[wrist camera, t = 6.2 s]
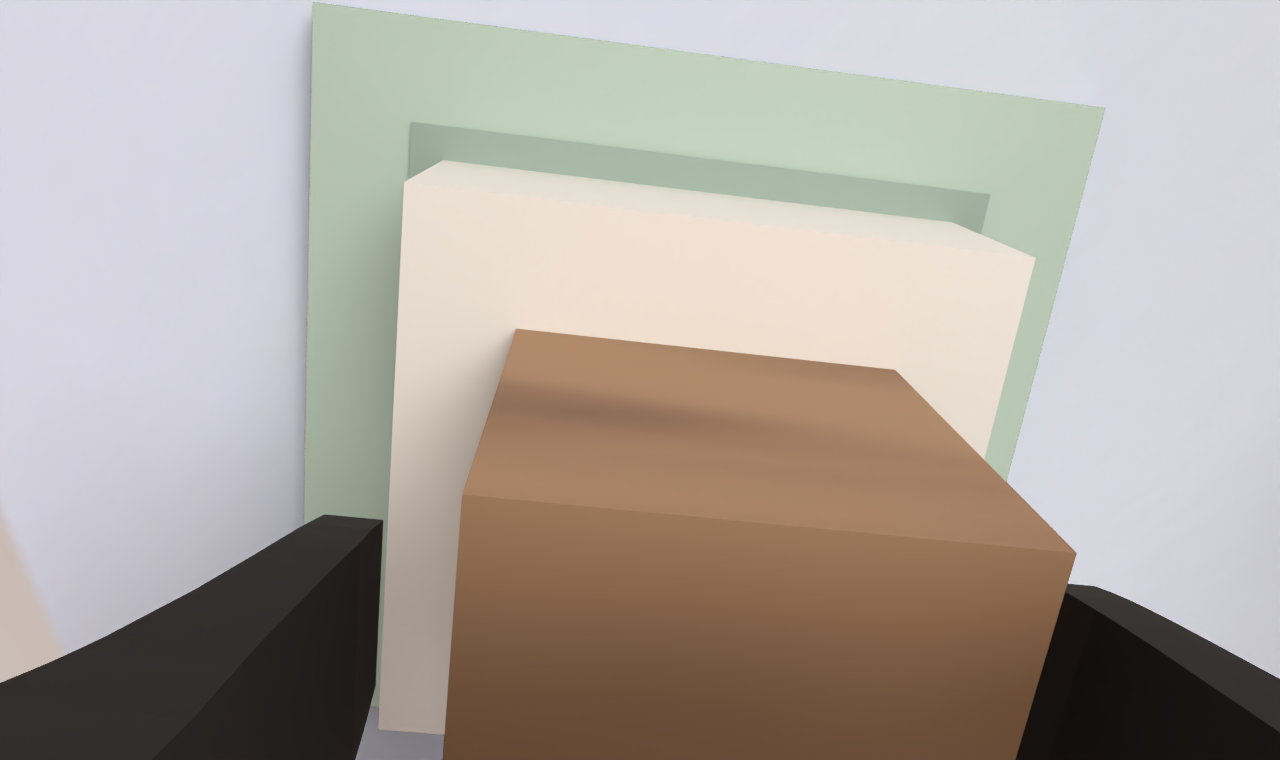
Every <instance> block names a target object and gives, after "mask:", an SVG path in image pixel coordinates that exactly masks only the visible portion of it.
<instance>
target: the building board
mask: <svg viewBox="0 0 1280 760" xmlns="http://www.w3.org/2000/svg"><path fill="white" fill-rule="evenodd" d="M1104 112H1105V108H1103V107H1095V106H1088V105H1080V104H1073V103H1065V102H1058V101H1050V100H1043V99H1035V98H1028V97H1020V96H1013V95H1005V94H998V93H990V92H983V91H975V90H968V89H960V88H953V87H945V86H938V85H931V84H923V83H916V82H908V81H901V80H893V79H886V78H878V77H871V76H863V75H856V74H848V73H841V72H833V71H826V70H818V69H811V68H803V67H796V66H788V65H781V64H773V63H766V62H758V61H751V60H744V59H736V58H729V57H721V56H714V55H706V54H699V53H691V52H684V51H676V50H669V49H661V48H654V47H646V46H639V45H631V44H624V43H616V42H609V41H601V40H594V39H586V38H579V37H571V36H564V35H556V34H549V33H542V32H534V31H527V30H519V29H512V28H504V27H497V26H489V25H482V24H474V23H467V22H459V21H452V20H444V19H437V18H429V17H422V16H414V15H407V14H399V13H392V12H384V11H377V10H369V9H362V8H355V7H347V6H340V5H332V4H325V3H317V2H313V22H312V79H311V137H310V194H309V251H308V308H307V365H306V423H305V480H304V525H305V524H307V523H309V522H310V521H312V520H314V519H316V518H318V517H320V516H322V515H324V514H326V515H337V516H347V517H358V518H369V519H379V520H383V538H382V560H381V582H380V603H379V625H378V646H377V668H376V687H375V690H374V694H373V698H372V701H371V705H370V707H379V699H380V678H381V657H382V636H383V615H384V594H385V573H386V552H387V531H388V510H389V489H390V468H391V447H392V426H393V405H394V384H395V363H396V342H397V321H398V300H399V279H400V258H401V237H402V216H403V195H404V182H405V181H407V180H408V179H410V178H412V177H414V176H416V175H417V174H419V173H421V172H423V171H425V170H426V169H428V168H430V167H432V166H434V165H435V164H437V163H439V162H441V161H442V160H447V161H455V162H463V163H471V164H479V165H488V166H496V167H504V168H512V169H520V170H528V171H537V172H545V173H553V174H561V175H569V176H577V177H586V178H594V179H602V180H610V181H618V182H626V183H635V184H643V185H651V186H659V187H667V188H675V189H684V190H692V191H700V192H708V193H716V194H724V195H733V196H741V197H749V198H757V199H765V200H773V201H782V202H790V203H798V204H806V205H814V206H822V207H831V208H839V209H847V210H855V211H863V212H871V213H880V214H888V215H896V216H904V217H912V218H920V219H929V220H937V221H945V222H953V223H955V224H957V225H960V226H962V227H964V228H967V229H969V230H971V231H974V232H976V233H979V234H981V235H983V236H986V237H988V238H990V239H993V240H995V241H997V242H1000V243H1002V244H1004V245H1007V246H1009V247H1011V248H1014V249H1016V250H1018V251H1021V252H1023V253H1025V254H1028V255H1030V256H1032V257H1035V258H1036V259H1035V263H1034V267H1033V270H1032V274H1031V278H1030V282H1029V286H1028V290H1027V294H1026V298H1025V302H1024V306H1023V310H1022V314H1021V318H1020V321H1019V325H1018V329H1017V333H1016V337H1015V341H1014V345H1013V349H1012V353H1011V357H1010V361H1009V365H1008V368H1007V372H1006V376H1005V380H1004V384H1003V388H1002V392H1001V396H1000V400H999V404H998V408H997V412H996V415H995V419H994V423H993V427H992V431H991V435H990V439H989V443H988V447H987V451H986V455H985V459H984V460H985V461H986V462H987V463H988V464H989V465H990V466H991V467H992V468H993V469H994V470H995V471H996V472H997V473H998V474H999V475H1000V476H1001V477H1002V478H1003V479H1004V480H1005V481H1007V478H1008V474H1009V470H1010V466H1011V463H1012V459H1013V455H1014V451H1015V448H1016V444H1017V440H1018V436H1019V432H1020V429H1021V425H1022V421H1023V417H1024V414H1025V410H1026V406H1027V402H1028V398H1029V395H1030V391H1031V387H1032V383H1033V380H1034V376H1035V372H1036V368H1037V365H1038V361H1039V357H1040V353H1041V349H1042V346H1043V342H1044V338H1045V334H1046V331H1047V327H1048V323H1049V319H1050V315H1051V312H1052V308H1053V304H1054V300H1055V297H1056V293H1057V289H1058V285H1059V282H1060V278H1061V274H1062V270H1063V266H1064V263H1065V259H1066V255H1067V251H1068V248H1069V244H1070V240H1071V236H1072V232H1073V229H1074V225H1075V221H1076V217H1077V214H1078V210H1079V206H1080V202H1081V199H1082V195H1083V191H1084V187H1085V183H1086V180H1087V176H1088V172H1089V168H1090V165H1091V161H1092V157H1093V153H1094V149H1095V146H1096V142H1097V138H1098V134H1099V131H1100V127H1101V123H1102V119H1103V115H1104Z"/></svg>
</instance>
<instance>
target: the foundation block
mask: <svg viewBox="0 0 1280 760" xmlns="http://www.w3.org/2000/svg"><path fill="white" fill-rule="evenodd" d="M1035 259H1036V258H1035V257H1032V256H1030V255H1028V254H1025V253H1023V252H1021V251H1018V250H1016V249H1014V248H1011V247H1009V246H1007V245H1004V244H1002V243H1000V242H997V241H995V240H993V239H990V238H988V237H986V236H983V235H981V234H979V233H976V232H974V231H971V230H969V229H967V228H964V227H962V226H960V225H957V224H955V223H953V222H945V221H937V220H929V219H920V218H912V217H904V216H896V215H888V214H880V213H871V212H863V211H855V210H847V209H839V208H831V207H822V206H814V205H806V204H798V203H790V202H782V201H773V200H765V199H757V198H749V197H741V196H733V195H724V194H716V193H708V192H700V191H692V190H684V189H675V188H667V187H659V186H651V185H643V184H635V183H626V182H618V181H610V180H602V179H594V178H586V177H577V176H569V175H561V174H553V173H545V172H537V171H528V170H520V169H512V168H504V167H496V166H488V165H479V164H471V163H463V162H455V161H447V160H442V161H441V162H439V163H437V164H435V165H434V166H432V167H430V168H428V169H426V170H425V171H423V172H421V173H419V174H417V175H416V176H414V177H412V178H410V179H408V180H407V181H405V182H404V195H403V216H402V237H401V258H400V279H399V300H398V321H397V342H396V363H395V384H394V405H393V426H392V447H391V468H390V489H389V510H388V531H387V552H386V573H385V594H384V615H383V636H382V657H381V678H380V699H379V720H378V730H388V731H401V732H414V733H427V734H440V735H444V734H445V721H446V707H447V693H448V679H449V666H450V652H451V638H452V624H453V610H454V597H455V583H456V569H457V555H458V542H459V528H460V514H461V500H462V493H463V490H464V487H465V484H466V481H467V477H468V474H469V471H470V468H471V465H472V462H473V459H474V456H475V453H476V450H477V447H478V444H479V441H480V438H481V435H482V432H483V429H484V426H485V423H486V420H487V417H488V413H489V410H490V407H491V404H492V401H493V398H494V395H495V392H496V389H497V386H498V383H499V380H500V377H501V374H502V371H503V368H504V365H505V362H506V359H507V356H508V353H509V349H510V346H511V343H512V340H513V337H514V334H515V331H516V329H525V330H534V331H543V332H553V333H562V334H571V335H580V336H589V337H599V338H608V339H617V340H626V341H635V342H644V343H654V344H663V345H672V346H681V347H690V348H700V349H709V350H718V351H727V352H736V353H746V354H755V355H764V356H773V357H782V358H791V359H801V360H810V361H819V362H828V363H837V364H847V365H856V366H865V367H874V368H883V369H892V370H896V371H897V372H898V373H899V374H900V375H901V376H902V377H903V378H904V379H905V380H906V381H907V382H908V383H909V384H910V385H911V386H912V387H913V388H914V389H915V390H916V391H917V392H918V393H919V394H920V395H921V396H922V397H923V398H924V399H925V400H926V401H927V402H928V403H929V404H930V405H931V406H932V407H933V408H934V410H935V411H936V412H937V413H938V414H939V415H940V416H941V417H942V418H943V419H944V420H945V421H946V422H947V423H948V424H949V425H950V426H951V427H952V428H953V429H954V430H955V431H956V432H957V433H958V434H959V435H960V436H961V437H962V438H963V439H964V440H965V441H966V442H967V443H968V444H969V445H970V446H971V447H972V448H973V449H974V450H975V451H976V452H977V453H978V454H979V455H980V456H981V457H982V458H983V459H985V455H986V451H987V447H988V443H989V439H990V435H991V431H992V427H993V423H994V419H995V415H996V412H997V408H998V404H999V400H1000V396H1001V392H1002V388H1003V384H1004V380H1005V376H1006V372H1007V368H1008V365H1009V361H1010V357H1011V353H1012V349H1013V345H1014V341H1015V337H1016V333H1017V329H1018V325H1019V321H1020V318H1021V314H1022V310H1023V306H1024V302H1025V298H1026V294H1027V290H1028V286H1029V282H1030V278H1031V274H1032V270H1033V267H1034V263H1035Z"/></svg>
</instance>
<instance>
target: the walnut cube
mask: <svg viewBox="0 0 1280 760" xmlns="http://www.w3.org/2000/svg"><path fill="white" fill-rule="evenodd" d="M1075 557H1076V552H1075V551H1074V550H1073V549H1072V548H1071V547H1070V546H1069V545H1068V544H1067V543H1066V542H1065V541H1064V540H1063V539H1062V538H1061V537H1060V536H1059V535H1058V534H1057V533H1056V532H1055V531H1054V530H1053V529H1052V528H1051V527H1050V526H1049V525H1048V524H1047V523H1046V522H1045V521H1044V520H1043V519H1042V518H1041V517H1040V516H1039V515H1038V514H1037V513H1036V512H1035V511H1034V510H1033V509H1032V507H1031V506H1030V505H1029V504H1028V503H1027V502H1026V501H1025V500H1024V499H1023V498H1022V497H1021V496H1020V495H1019V494H1018V493H1017V492H1016V491H1015V490H1014V489H1013V488H1012V487H1011V486H1010V485H1009V484H1008V483H1007V482H1006V481H1005V480H1004V479H1003V478H1002V477H1001V476H1000V475H999V474H998V473H997V472H996V471H995V470H994V469H993V468H992V467H991V466H990V465H989V464H988V463H987V462H986V461H985V460H984V459H983V458H982V457H981V456H980V455H979V454H978V453H977V452H976V451H975V450H974V449H973V448H972V447H971V446H970V445H969V444H968V443H967V442H966V441H965V440H964V439H963V438H962V437H961V436H960V435H959V434H958V433H957V432H956V431H955V430H954V429H953V428H952V427H951V426H950V425H949V424H948V423H947V422H946V421H945V420H944V419H943V418H942V417H941V416H940V415H939V414H938V413H937V412H936V411H935V410H934V408H933V407H932V406H931V405H930V404H929V403H928V402H927V401H926V400H925V399H924V398H923V397H922V396H921V395H920V394H919V393H918V392H917V391H916V390H915V389H914V388H913V387H912V386H911V385H910V384H909V383H908V382H907V381H906V380H905V379H904V378H903V377H902V376H901V375H900V374H899V373H898V372H897V371H896V370H892V369H883V368H874V367H865V366H856V365H847V364H837V363H828V362H819V361H810V360H801V359H791V358H782V357H773V356H764V355H755V354H746V353H736V352H727V351H718V350H709V349H700V348H690V347H681V346H672V345H663V344H654V343H644V342H635V341H626V340H617V339H608V338H599V337H589V336H580V335H571V334H562V333H553V332H543V331H534V330H525V329H516V331H515V334H514V337H513V340H512V343H511V346H510V349H509V353H508V356H507V359H506V362H505V365H504V368H503V371H502V374H501V377H500V380H499V383H498V386H497V389H496V392H495V395H494V398H493V401H492V404H491V407H490V410H489V413H488V417H487V420H486V423H485V426H484V429H483V432H482V435H481V438H480V441H479V444H478V447H477V450H476V453H475V456H474V459H473V462H472V465H471V468H470V471H469V474H468V477H467V481H466V484H465V487H464V490H463V493H462V500H461V514H460V528H459V542H458V555H457V569H456V583H455V597H454V610H453V624H452V638H451V652H450V666H449V679H448V693H447V707H446V721H445V734H444V748H443V760H1015V759H1016V756H1017V752H1018V749H1019V746H1020V742H1021V739H1022V735H1023V732H1024V729H1025V725H1026V722H1027V719H1028V715H1029V712H1030V708H1031V705H1032V702H1033V698H1034V695H1035V692H1036V688H1037V685H1038V681H1039V678H1040V675H1041V671H1042V668H1043V665H1044V661H1045V658H1046V655H1047V651H1048V648H1049V644H1050V641H1051V638H1052V634H1053V631H1054V628H1055V624H1056V621H1057V617H1058V614H1059V611H1060V607H1061V604H1062V601H1063V597H1064V594H1065V590H1066V587H1067V584H1068V580H1069V577H1070V574H1071V570H1072V567H1073V563H1074V560H1075Z"/></svg>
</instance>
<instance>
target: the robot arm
mask: <svg viewBox="0 0 1280 760" xmlns="http://www.w3.org/2000/svg"><path fill="white" fill-rule="evenodd" d="M382 538H383V520H379V519H369V518H358V517H347V516H337V515H326V514H324V515H322V516H320V517H318V518H316V519H314V520H312V521H310V522H309V523H307V524H305V525H303V526H302V527H300V528H298V529H296V530H295V531H293V532H291V533H290V534H288V535H286V536H285V537H283V538H281V539H280V540H278V541H276V542H275V543H273V544H271V545H270V546H268V547H266V548H265V549H263V550H261V551H260V552H258V553H256V554H255V555H253V556H251V557H250V558H248V559H246V560H245V561H243V562H241V563H240V564H238V565H236V566H234V567H233V568H231V569H229V570H228V571H226V572H224V573H222V574H221V575H219V576H217V577H216V578H214V579H212V580H211V581H209V582H207V583H205V584H204V585H202V586H200V587H199V588H197V589H195V590H193V591H191V592H190V593H188V594H186V595H184V596H182V597H180V598H178V599H176V600H174V601H172V602H170V603H169V604H167V605H165V606H163V607H161V608H159V609H157V610H155V611H153V612H151V613H150V614H148V615H146V616H144V617H142V618H140V619H138V620H136V621H134V622H132V623H130V624H129V625H127V626H125V627H123V628H121V629H119V630H117V631H115V632H113V633H111V634H109V635H108V636H106V637H104V638H101V639H99V640H97V641H95V642H93V643H91V644H89V645H87V646H85V647H83V648H81V649H78V650H76V651H74V652H72V653H69V654H67V655H65V656H63V657H61V658H58V659H56V660H54V661H52V662H50V663H47V664H45V665H43V666H40V667H38V668H35V669H33V670H31V671H28V672H26V673H23V674H21V675H19V676H16V677H14V678H11V679H9V680H7V681H4V682H2V683H0V760H355V758H356V755H357V751H358V748H359V745H360V741H361V738H362V734H363V731H364V727H365V723H366V720H367V716H368V712H369V709H370V705H371V701H372V698H373V694H374V690H375V687H376V668H377V646H378V625H379V603H380V582H381V560H382ZM1015 760H1280V679H1279V678H1277V677H1275V676H1273V675H1271V674H1269V673H1268V672H1266V671H1264V670H1262V669H1260V668H1258V667H1256V666H1255V665H1253V664H1251V663H1249V662H1247V661H1245V660H1243V659H1242V658H1240V657H1238V656H1236V655H1234V654H1232V653H1230V652H1229V651H1227V650H1225V649H1223V648H1221V647H1219V646H1217V645H1216V644H1214V643H1212V642H1210V641H1208V640H1206V639H1204V638H1202V637H1201V636H1199V635H1197V634H1195V633H1193V632H1191V631H1189V630H1187V629H1186V628H1184V627H1182V626H1180V625H1178V624H1176V623H1174V622H1172V621H1170V620H1168V619H1166V618H1165V617H1163V616H1161V615H1159V614H1157V613H1155V612H1153V611H1151V610H1149V609H1147V608H1145V607H1143V606H1140V605H1138V604H1136V603H1134V602H1132V601H1130V600H1128V599H1125V598H1123V597H1121V596H1118V595H1116V594H1114V593H1111V592H1109V591H1106V590H1103V589H1101V588H1098V587H1095V586H1085V585H1074V584H1067V587H1066V590H1065V594H1064V597H1063V601H1062V604H1061V607H1060V611H1059V614H1058V617H1057V621H1056V624H1055V628H1054V631H1053V634H1052V638H1051V641H1050V644H1049V648H1048V651H1047V655H1046V658H1045V661H1044V665H1043V668H1042V671H1041V675H1040V678H1039V681H1038V685H1037V688H1036V692H1035V695H1034V698H1033V702H1032V705H1031V708H1030V712H1029V715H1028V719H1027V722H1026V725H1025V729H1024V732H1023V735H1022V739H1021V742H1020V746H1019V749H1018V752H1017V756H1016V759H1015Z"/></svg>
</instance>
